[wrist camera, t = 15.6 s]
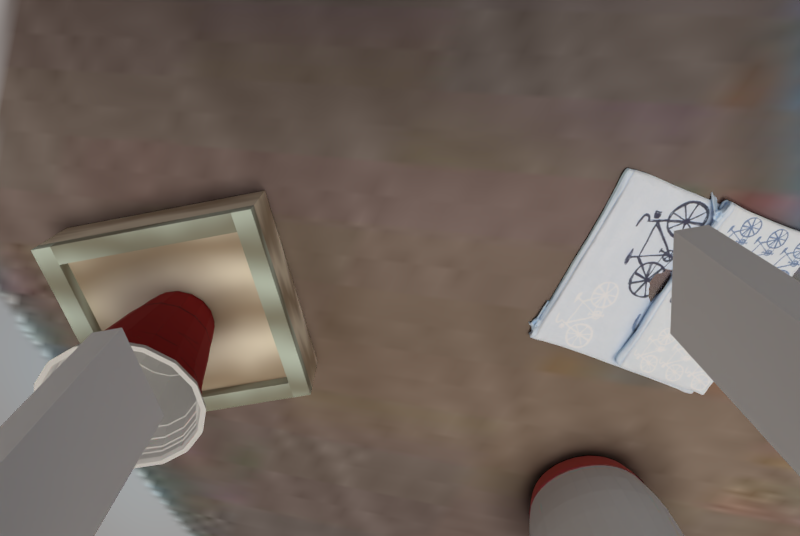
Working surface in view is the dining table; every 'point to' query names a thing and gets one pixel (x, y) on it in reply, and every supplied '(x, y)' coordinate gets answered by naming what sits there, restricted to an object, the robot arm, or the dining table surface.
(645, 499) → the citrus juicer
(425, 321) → the dining table surface
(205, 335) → the plastic cup
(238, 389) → the stand
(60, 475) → the robot arm
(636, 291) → the white flat piece
